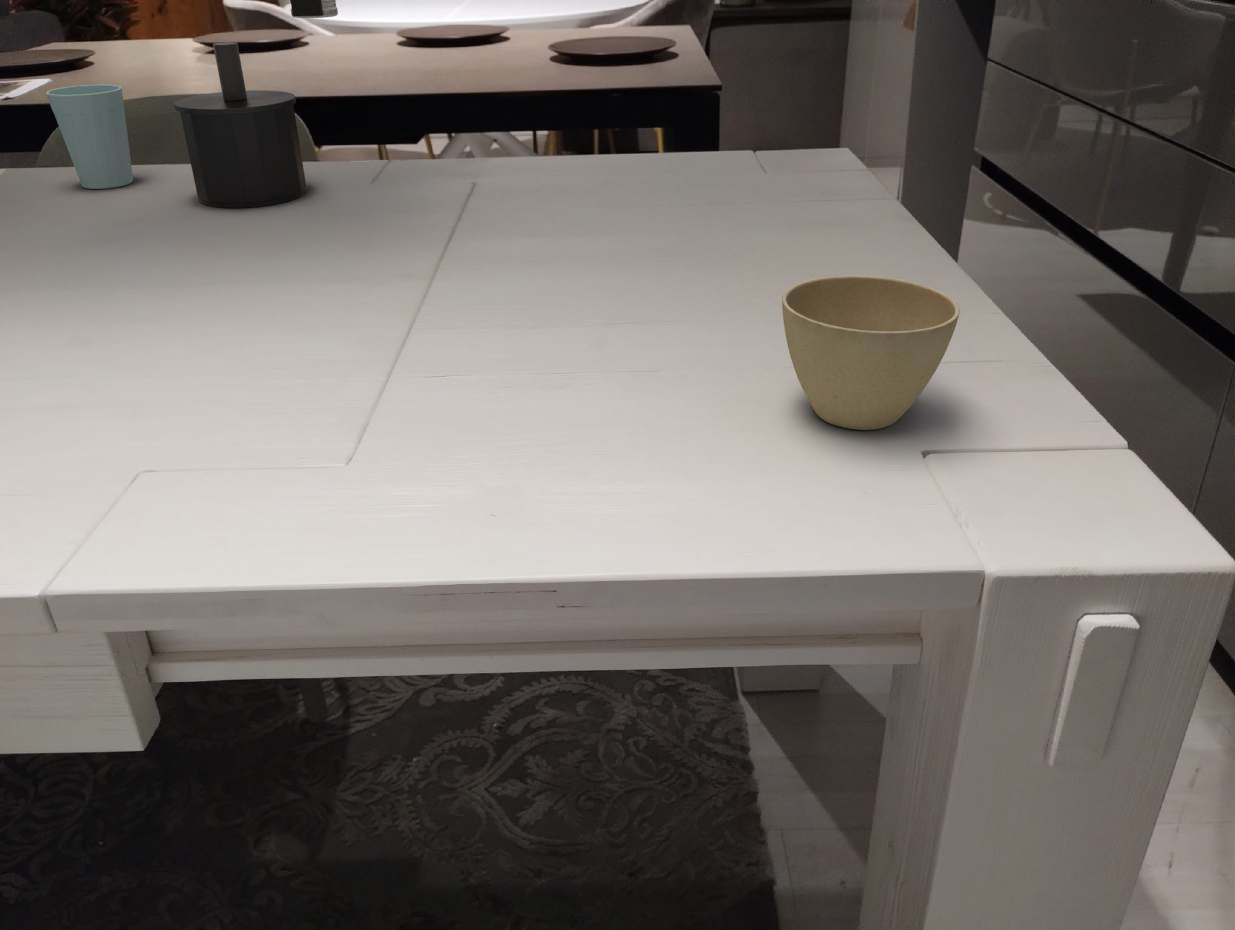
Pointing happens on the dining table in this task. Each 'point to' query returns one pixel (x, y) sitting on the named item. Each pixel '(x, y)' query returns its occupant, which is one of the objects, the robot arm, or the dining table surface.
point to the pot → (245, 158)
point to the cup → (94, 133)
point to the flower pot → (866, 345)
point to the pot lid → (233, 90)
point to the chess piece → (328, 10)
